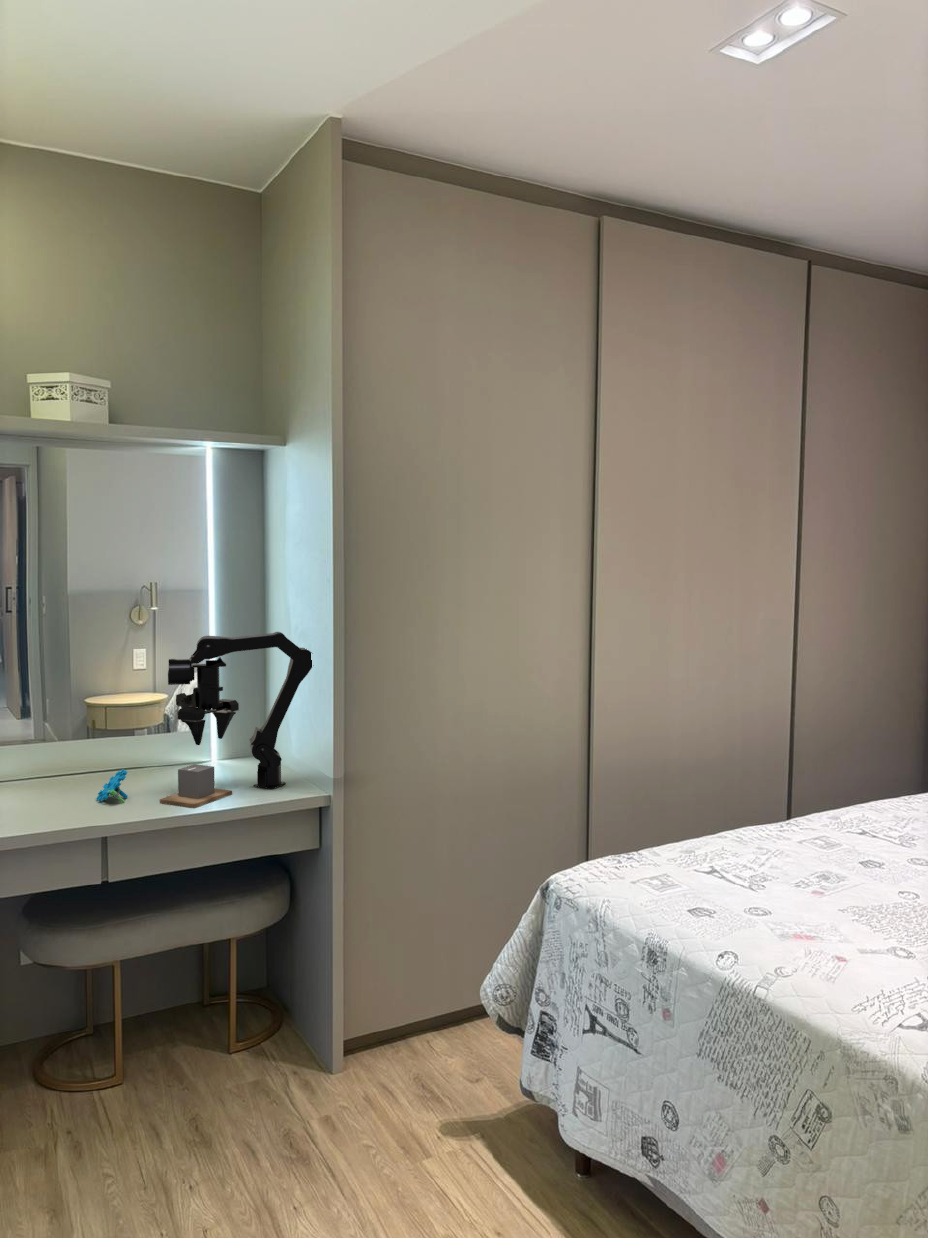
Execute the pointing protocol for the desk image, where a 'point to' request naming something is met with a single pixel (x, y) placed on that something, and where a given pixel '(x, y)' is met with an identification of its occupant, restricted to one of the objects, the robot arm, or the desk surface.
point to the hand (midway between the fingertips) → (209, 741)
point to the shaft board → (195, 802)
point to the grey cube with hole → (196, 781)
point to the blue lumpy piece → (113, 787)
